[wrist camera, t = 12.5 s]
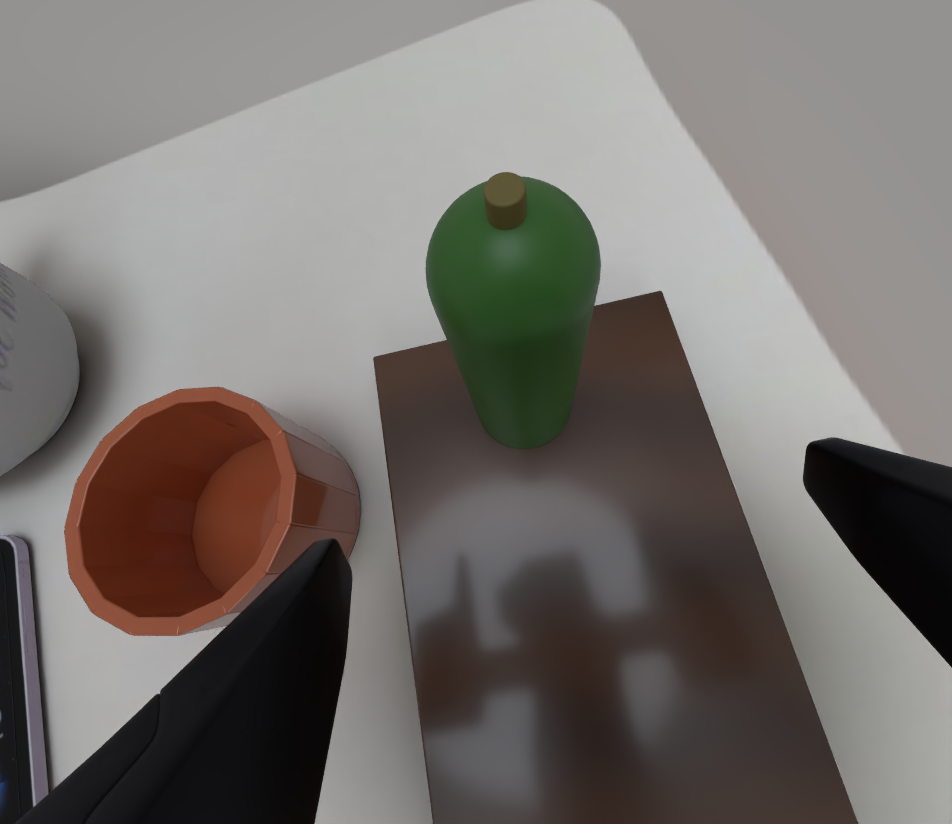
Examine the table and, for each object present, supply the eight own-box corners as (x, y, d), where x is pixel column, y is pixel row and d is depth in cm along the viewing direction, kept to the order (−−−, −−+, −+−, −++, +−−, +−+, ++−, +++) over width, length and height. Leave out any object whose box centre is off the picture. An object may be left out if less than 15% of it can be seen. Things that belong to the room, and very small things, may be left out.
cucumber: (556, 461, 17) (584, 308, 7) (464, 433, 18) (364, 257, 8) (582, 373, 18) (642, 119, 8) (493, 350, 19) (439, 91, 8)
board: (863, 896, 14) (900, 935, 12) (462, 957, 14) (454, 999, 13) (653, 308, 20) (662, 289, 19) (383, 370, 21) (372, 356, 19)
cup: (354, 614, 18) (279, 636, 13) (175, 614, 19) (36, 635, 13) (366, 427, 20) (305, 380, 15) (206, 435, 21) (96, 393, 16)
